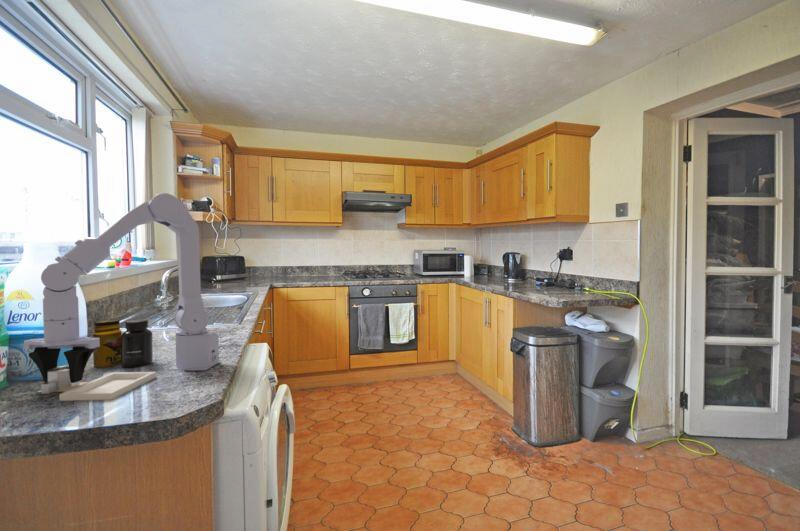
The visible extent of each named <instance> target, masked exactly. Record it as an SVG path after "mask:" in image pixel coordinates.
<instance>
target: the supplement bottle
mask: <svg viewBox="0 0 800 531" xmlns="http://www.w3.org/2000/svg"><path fill="white" fill-rule="evenodd" d="M148 328H149V320H148V319H131V320H126V321H125V331H124V332H122V335H121V363H120V364H121V365H120V367H121V368H123V369H136V368H140V367H147V366H149V365H151V364H153V360H154V359H153V354H154V353H153V349H154V348H153V343H154V342H153V341H154V340H153V335H154V334H153V331H151V330H150V329H148Z"/></svg>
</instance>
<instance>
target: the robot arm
mask: <svg viewBox="0 0 800 531" xmlns="http://www.w3.org/2000/svg"><path fill="white" fill-rule="evenodd" d="M152 222H156V223H158V224H160V225H163V226H166V227H167V228H168V229H169V230H171V231H172V232H173V233H175V234H176V235H177V237H176V238H177V243H176V244H177V266H178V268H177V269H178V270H177V271H178V293H179V294H178V300H177V309H176V311H175V313H174V316H173V319H174V323H175V325H177V326H178V328H177V330H175V331H174V334H175V365H173V366H171V367H169V368H168V369H167V370H168V371H184V372H185V371H208V370H209V369H210V368H212V367H214V366H216V365H217V364H219V363H220V362H221V360H220V358H219V357H220V356H219V355H220V354H219V353H220V351H219V349H220V348H219V337H218V334H217V333H216V332H210V331H208V328H206V327H207V326H208V325H209V324H208V323H209V315H208V313H207V312H206V309H205V302H204V300H203V297H202V291H201V290H202V289H201V288H202V286H201V284H202V283H201V259H200V258H201V257H200V229H199V225H198V223H197V222H196V220H195V219H194V217H193V216H192V215H191V213H190V212H189V210H188V209H187V207H186V205H185V203H184V202H183V201H181V200H180V199H179V198H177V197H176V196H174V195H173V194H170V193H165V192H164V193H157V194H155V195H154V196H153V197H152V198H151V199H150V200H146V201H144V202H142V203H141V204H139V205H137V206H136V207H134V208H132V209H131V210H129V211H128V212H127V213H126V214H125V215H123V216H122V217H120V219H119V220H117V221H116V222H115V223H114V224H113V225H111V226H110V227H109V228H108V229H107V230H105V231H104V232H103V233H101V234H100V235H99V236H98V237H85V238H84V239H83V240H81V239H78V240H77V241H75V242H74V245H75V246H74V247H73V248H71V249H70V250H68V251H67V252H66V253H65V254H64V255H62V256H60V255H59V256H57V257H55V259H54V260H55V261H56V262H54V263H51V264H48V265H47V267H46V268H45V269H43V271H42V272H41V274H40V280H41V283H42V284H43V286H44V288H43V291H42V295H43V298H42V314H43V315H42V316H43V317H42V318H43V338H31V339H26V340H23V350H24V351H25V350H26V351H27V350H28V351H30V350H33V351H32V352H29V353H28V357H29V358H30V360H32V361H33V363H34V364H35V365H36V366H37V368H38V370H39V372H40V375H41V377H42V379H43V383H46V382H47V370H48V369H51V368H55V367H58V361H59V357H60V353H61V350H62V349H68V350H65V351H63V354H64V357H65V358H66V359H65V360H66V361H67V365H69V373H70V381H71V383H75V382H78V381H79V382H81V381H82V380H83V376H84V373H85V369H86V366H87V363H88V362H89V359H90V357H91V356H92V355H93V351H94V348H96V347H100V338H93V337H88V336H87V337H86V336H80V315H79V312H80V311H79V296H78V295H77V284H78V281H79V277H81V276H86V275H88V274H90V273H91V272H92V271H93V270H94V269H96V268H97V267H98V266H99V265H101V263H103V262H104V261H106V259H108V258H109V257H110V256H111V251H110V250H111V247H112V246H113V245H114V244H116V243H117V242H118V241H120V240H121V239H123V238H124V237H125V236H126V235H128V234H129V233H130V232H131V231H133V230H134V229H135V228H137V227H139V226H142V225H146V224H151V223H152ZM69 349H70V350H69Z"/></svg>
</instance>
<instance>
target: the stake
mask: <svg viewBox="0 0 800 531" xmlns="http://www.w3.org/2000/svg"><path fill="white" fill-rule="evenodd" d="M88 382H89V381H79V385H78V386H81V385H83V384H86V383H88ZM78 386H75V387H73V388H76V387H78ZM73 388H69V389H64V390H58V391H55V392H56V393H57V392H62V393H64V392H66V391H69V390H71V389H73ZM36 392H37V393H41V389H40V390H37V391H36ZM55 392H54V393H55Z"/></svg>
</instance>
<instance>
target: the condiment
mask: <svg viewBox="0 0 800 531" xmlns="http://www.w3.org/2000/svg"><path fill="white" fill-rule="evenodd" d="M120 323H121V322H120V320H119V319H102V320H97V321H94V328H93V330H94V331H93V333H92V338H100V347H96V348H94V351H93V353H92V355H93V359H92V360H93V367H95V368H107V367H113V366H116V365H117V366H118V365H120V364H121V335H122V334H123V332H122V329H120V328H121V326H120Z"/></svg>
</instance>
